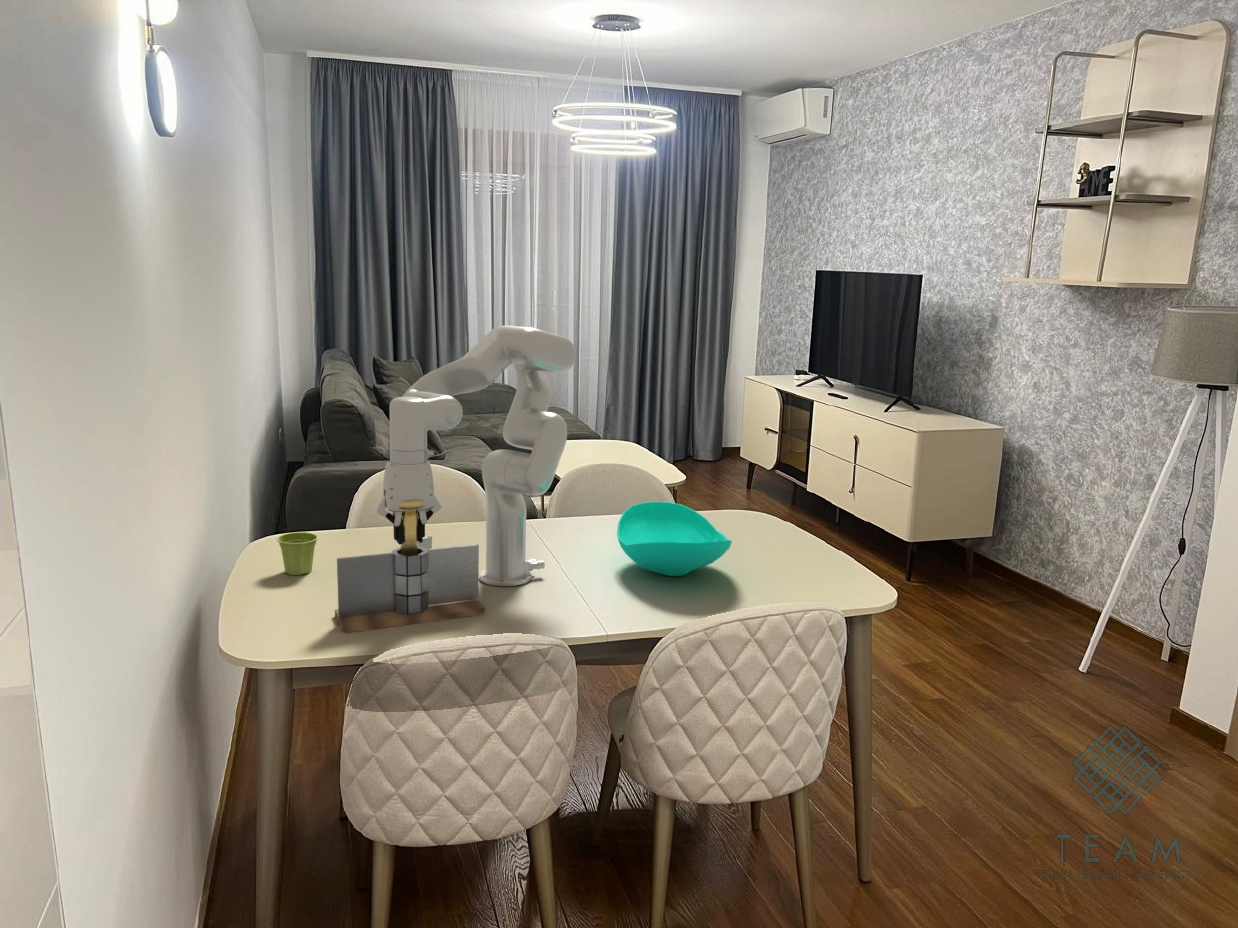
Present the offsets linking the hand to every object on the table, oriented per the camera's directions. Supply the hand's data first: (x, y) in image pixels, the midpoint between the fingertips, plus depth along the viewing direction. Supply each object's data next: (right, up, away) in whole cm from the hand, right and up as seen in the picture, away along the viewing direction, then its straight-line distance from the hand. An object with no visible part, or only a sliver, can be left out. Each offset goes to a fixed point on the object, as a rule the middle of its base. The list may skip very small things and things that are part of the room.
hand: (409, 540), depth 199 cm
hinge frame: (-6, -15, +1) cm, 16 cm away
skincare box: (-3, -12, +23) cm, 26 cm away
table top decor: (+58, -11, +39) cm, 71 cm away
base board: (-1, -16, +3) cm, 17 cm away
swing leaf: (+5, -14, +6) cm, 16 cm away
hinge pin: (0, -4, +1) cm, 4 cm away
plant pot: (-33, -10, +29) cm, 45 cm away
